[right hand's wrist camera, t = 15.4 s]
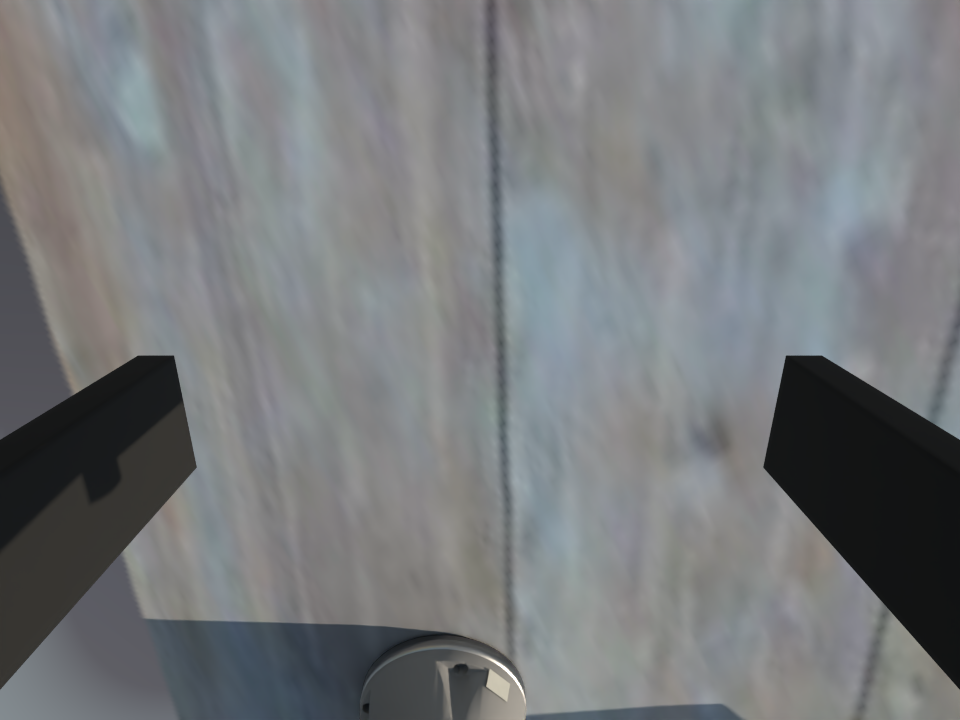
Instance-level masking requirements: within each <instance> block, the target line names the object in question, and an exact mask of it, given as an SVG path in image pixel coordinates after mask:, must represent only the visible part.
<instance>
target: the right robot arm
mask: <svg viewBox="0 0 960 720" xmlns="http://www.w3.org/2000/svg"><path fill="white" fill-rule="evenodd" d="M196 468H197V467H196V462H195V457H194V452H193V447H192V442H191V437H190V432H189V427H188V422H187V418H186V413H185V408H184V403H183V398H182V393H181V388H180V383H179V378H178V373H177V368H176V364H175V359H174V356H137V357H135V358H134V359H132V360H130V361H129V362H127V363H125V364H124V365H122V366H120V367H119V368H117V369H116V370H114V371H112V372H111V373H109V374H107V375H106V376H104V377H102V378H101V379H99V380H98V381H96V382H94V383H93V384H91V385H89V386H88V387H86V388H84V389H83V390H81V391H79V392H78V393H76V394H75V395H73V396H71V397H70V398H68V399H66V400H65V401H63V402H61V403H60V404H58V405H57V406H55V407H53V408H52V409H50V410H48V411H47V412H45V413H43V414H42V415H40V416H39V417H37V418H35V419H34V420H32V421H30V422H29V423H27V424H25V425H24V426H22V427H21V428H19V429H17V430H16V431H14V432H12V433H11V434H9V435H7V436H6V437H4V438H3V439H1V440H0V689H1V688H2V687H3V686H4V685H5V683H6V682H7V681H8V680H9V679H10V678H11V677H12V676H13V674H14V673H15V672H16V671H17V670H18V669H19V668H20V667H21V665H22V664H23V663H24V662H25V661H26V660H27V659H28V658H29V656H30V655H31V654H32V653H33V652H34V651H35V650H36V648H37V647H38V646H39V645H40V644H41V643H42V642H43V640H44V639H45V638H46V637H47V636H48V635H49V634H50V633H51V631H52V630H53V629H54V628H55V627H56V626H57V625H58V624H59V622H60V621H61V620H62V619H63V618H64V617H65V616H66V615H67V613H68V612H69V611H70V610H71V609H72V608H73V607H74V605H75V604H76V603H77V602H78V601H79V600H80V599H81V598H82V596H83V595H84V594H85V593H86V592H87V591H88V590H89V588H90V587H91V586H92V585H93V584H94V583H95V582H96V581H97V579H98V578H99V577H100V576H101V575H102V574H103V573H104V572H105V570H106V569H107V568H108V567H109V566H110V565H111V564H112V563H113V561H114V560H115V559H116V558H117V557H118V556H119V555H120V553H121V552H122V551H123V550H124V549H125V548H126V547H127V546H128V544H129V543H130V542H131V541H132V540H133V539H134V538H135V537H136V535H137V534H138V533H139V532H140V531H141V530H142V529H143V527H144V526H145V525H146V524H147V523H148V522H149V521H150V520H151V518H152V517H153V516H154V515H155V514H156V513H157V512H158V511H159V509H160V508H161V507H162V506H163V505H164V504H165V503H166V501H167V500H168V499H169V498H170V497H171V496H172V495H173V494H174V492H175V491H176V490H177V489H178V488H179V487H180V486H181V485H182V483H183V482H184V481H185V480H186V479H187V478H188V477H189V475H190V474H191V473H192V472H193V471H194V470H195V469H196ZM763 468H764V469H765V470H766V471H767V472H768V473H769V474H770V475H771V477H772V478H773V479H774V480H775V481H776V482H777V483H778V485H779V486H780V487H781V488H782V489H783V490H784V491H785V492H786V494H787V495H788V496H789V497H790V498H791V499H792V500H793V501H794V503H795V504H796V505H797V506H798V507H799V508H800V509H801V511H802V512H803V513H804V514H805V515H806V516H807V517H808V518H809V520H810V521H811V522H812V523H813V524H814V525H815V526H816V527H817V529H818V530H819V531H820V532H821V533H822V534H823V535H824V537H825V538H826V539H827V540H828V541H829V542H830V543H831V544H832V546H833V547H834V548H835V549H836V550H837V551H838V552H839V553H840V555H841V556H842V557H843V558H844V559H845V560H846V561H847V563H848V564H849V565H850V566H851V567H852V568H853V569H854V570H855V572H856V573H857V574H858V575H859V576H860V577H861V578H862V579H863V581H864V582H865V583H866V584H867V585H868V586H869V587H870V589H871V590H872V591H873V592H874V593H875V594H876V595H877V596H878V598H879V599H880V600H881V601H882V602H883V603H884V604H885V605H886V607H887V608H888V609H889V610H890V611H891V612H892V613H893V615H894V616H895V617H896V618H897V619H898V620H899V621H900V622H901V624H902V625H903V626H904V627H905V628H906V629H907V630H908V631H909V633H910V634H911V635H912V636H913V637H914V638H915V639H916V641H917V642H918V643H919V644H920V645H921V646H922V647H923V648H924V650H925V651H926V652H927V653H928V654H929V655H930V656H931V658H932V659H933V660H934V661H935V662H936V663H937V664H938V665H939V667H940V668H941V669H942V670H943V671H944V672H945V673H946V674H947V676H948V677H949V678H950V679H951V680H952V681H953V682H954V684H955V685H956V686H957V687H958V688H959V689H960V440H959V439H957V438H956V437H954V436H953V435H951V434H949V433H948V432H946V431H944V430H943V429H941V428H939V427H938V426H936V425H935V424H933V423H931V422H930V421H928V420H926V419H925V418H923V417H921V416H920V415H918V414H917V413H915V412H913V411H912V410H910V409H908V408H907V407H905V406H903V405H902V404H900V403H899V402H897V401H895V400H894V399H892V398H890V397H889V396H887V395H885V394H884V393H882V392H881V391H879V390H877V389H876V388H874V387H872V386H871V385H869V384H867V383H866V382H864V381H862V380H861V379H859V378H858V377H856V376H854V375H853V374H851V373H849V372H848V371H846V370H844V369H843V368H841V367H840V366H838V365H836V364H835V363H833V362H831V361H830V360H828V359H826V358H825V357H823V356H786V359H785V364H784V368H783V373H782V378H781V383H780V388H779V393H778V398H777V403H776V408H775V413H774V418H773V422H772V427H771V432H770V437H769V442H768V447H767V452H766V457H765V462H764V467H763ZM525 717H526V699H525V688H524V684H523V681H522V678H521V676H520V674H519V672H518V671H517V669H516V668H515V666H514V665H513V664H512V663H511V662H510V661H509V660H508V659H507V658H506V657H505V656H504V655H503V654H501V653H500V652H499V651H497V650H495V649H494V648H492V647H490V646H488V645H486V644H484V643H481V642H479V641H476V640H473V639H469V638H465V637H459V636H450V635H435V636H426V637H420V638H416V639H412V640H409V641H406V642H403V643H401V644H399V645H397V646H395V647H393V648H391V649H390V650H388V651H387V652H385V653H384V654H383V655H381V656H380V657H379V658H378V659H377V660H376V661H375V663H374V664H373V665H372V666H371V668H370V670H369V671H368V673H367V675H366V678H365V681H364V685H363V690H362V694H361V699H360V720H525Z"/></svg>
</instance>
